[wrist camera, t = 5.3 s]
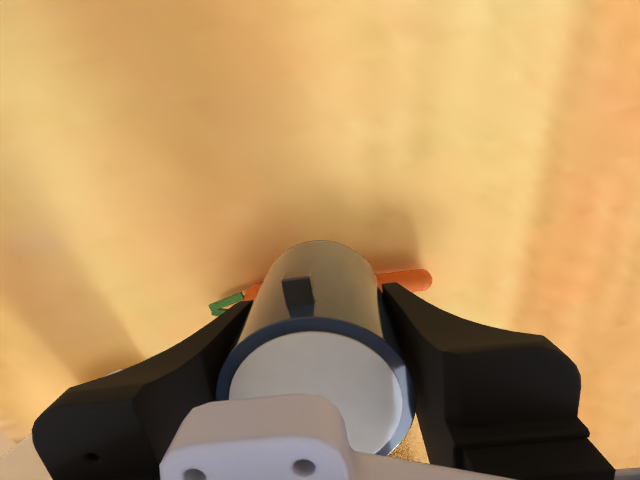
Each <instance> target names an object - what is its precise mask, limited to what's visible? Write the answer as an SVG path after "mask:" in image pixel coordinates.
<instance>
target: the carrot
mask: <svg viewBox="0 0 640 480" xmlns="http://www.w3.org/2000/svg"><path fill="white" fill-rule="evenodd" d="M376 277H377V280H378V282H379V285H380V288H381V291H382V284H384V283H392V282H397V283H398V284H400V285H401V286H403V287H404V288H406V289H407V290H409V291H410V292H416V291H424V290H427V289H428V288H429V287H430V286H431V284H432V277H431V275H430V273H429V272H427V271H426V270H423V269H418V270H410V271H402V272H394V273H386V274H379V275H376ZM261 285H262V283H261V284H256V285H254V286H252V287H251V288H250V289H249V290H248V291H247V292H246V294H245V296H244V295H243V294H242V292H239V293H237V294H234V295H232V296H229V297H227V298H224V299H222V300H219V301H217V302H214V303H212V304H210V305H209V308H210V309H211V311H212V315H214V316H220V315H221V314H222V313H224V312H225V311H226V310H228V309H223V308H222V307H225V306H228V305H230V304H233V303H235V302H238V301H240V300H243V301H249V300H254V299H255V297H256V295H257V293H258V291H259V289H260V287H261ZM382 293H383V292H382Z"/></svg>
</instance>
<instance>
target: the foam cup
mask: <svg viewBox="0 0 640 480" xmlns="http://www.w3.org/2000/svg"><path fill="white" fill-rule="evenodd" d="M121 370H124V369H118V370H116V371H113V372H111V373H109V374H107V375H105V376H108V375H111V374H113V373H116V372H119V371H121ZM105 376H104V377H105ZM0 480H53V479H52V478H51V476H50V474H49V473H48V471H47V469H46V467H45V466H44V464H43V462H42V460H41V459H40V457H39V455H38V453H37V452H36V449H35V447H34V444H33V441H32V433H31V434H30V435H28V436H27V437H26V438H24V439H23V440H22V441H21V442H19V443H18V444H17V445H16V446H14V447H13V448H12V449H10V450H9V451H8V452H7V453H5V454H4V455H3V456H2V457H0Z"/></svg>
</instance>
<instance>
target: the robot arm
mask: <svg viewBox="0 0 640 480" xmlns="http://www.w3.org/2000/svg"><path fill="white" fill-rule="evenodd" d="M382 292H383V296H384V299H385V302H386V304H387V307H388V310H389V313H390V315H391V318H392V321H393V324H394V326H395V329H396V332H397V335H398V337H399V340H400V343H401V346H402V348H403V351H404V354H405V357H406V359H407V362H408V365H409V368H410V370H411V373H412V376H413V379H414V382H415V387H416V393H417V405H416V415H417V418H418V422H419V425H420V429H421V433H422V436H423V440H424V444H425V447H426V451H427V455H428V458H429V462H430V464H427V463H421V462H415V461H410V460H404V459H398V458H393V457H387V456H382V455H376V454H370V453H365V452H359V451H355V450H353V449H352V448H351V446H350V444H349V441H348V438H347V432H346V426H345V421H344V419H343V417H342V415H341V413H340V411H339V410H338V408H337V406H336V405H334V404H333V403H331V402H329V401H328V400H326V399H324V398H323V397H321V396H319V395H311V394H302V393H295V394H285V395H275V396H265V397H255V398H245V399H235V400H226V401H216V383H217V379H218V375H219V372H220V370H221V367H222V365H223V363H224V361H225V359H226V357H227V355H228V353H229V351H230V348H231V346H232V344H233V342H234V340H235V338H236V336H237V334H238V332H239V330H240V328H241V326H242V324H243V322H244V320H245V318H246V316H247V314H248V312H249V309H250V307H251V305H252V303H253V301H254V300H249V301H241V302H238V303H237V304H235V305H234V306H232V307H231V308H229V309H228V310H226V311H225V312H224V313H222V314H221V315H220V316H218V317H217V318H216V319H214V320H213V321H212V322H210V323H209V324H207V325H206V326H204V327H203V328H202V329H200V330H199V331H197V332H196V333H194V334H193V335H191V336H190V337H188V338H187V339H185V340H183V341H182V342H180V343H178V344H176V345H175V346H173V347H171V348H169V349H167V350H166V351H164V352H162V353H159V354H157V355H155V356H153V357H151V358H149V359H147V360H145V361H143V362H141V363H138V364H136V365H134V366H131V367H129V368H126V369H124V370H121V371H119V372H116V373H113V374H111V375H108V376H105V377H102V378H99V379H96V380H93V381H90V382H87V383H83V384H80V385H77V386H74V387H70V388H69V389H68V390H66V391H65V392H64V393H63V394H62V395H61V396H60V397H59V398H58V399H57V400H56V401H55V402H54V403H52V404H51V405H50V406H49V407H48V408H47V409H46V410H45V411H44V412H43V413H42V414H41V415H40V416H39V417H38V418H37V419H36V421H35V422H34V425H33V428H32V441H33V444H34V447H35V449H36V452H37V453H38V455H39V457H40V459H41V460H42V462H43V464H44V466H45V467H46V469H47V471H48V473H49V474H50V476H51V478H52V479H53V480H640V468H627V469H614V468H613V467H612V465H611V464H610V463H609V462H608V461H607V460H606V459H605V458H604V456H603V455H602V454H601V453H600V452H599V451H598V450H597V448H596V447H595V446H594V445H593V444H592V443H591V442H590V441H589V439H588V438H587V437H589V435H590V432H589V430H588V428H587V427H586V426H585V425H584V424H583V423H582V422H581V421H580V419H579V418H578V417H577V415H578V407H579V399H580V391H581V375H580V373H579V371H578V369H577V366H576V365H575V364H574V363H573V361H572V360H571V359H570V358H569V357H568V356H567V355H565V354H564V353H563V352H562V351H561V350H560V349H559V348H558V347H556V346H555V345H554V344H553V343H552V342H551V341H549V340H548V339H547V338H546V337H544V336H542V335H535V334H527V333H520V332H513V331H508V330H503V329H499V328H494V327H490V326H486V325H482V324H479V323H475V322H472V321H469V320H466V319H463V318H460V317H458V316H455V315H453V314H450V313H448V312H446V311H443V310H441V309H439V308H437V307H435V306H433V305H432V304H430V303H428V302H426V301H424V300H423V299H421V298H419V297H418V296H416V295H415V294H413V293H412V292H410V291H409V290H407V289H406V288H404V287H403V286H401V285H400V284H398V283H397V282H392V283H384V284H382Z"/></svg>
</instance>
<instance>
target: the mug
mask: <svg viewBox="0 0 640 480" xmlns="http://www.w3.org/2000/svg"><path fill="white" fill-rule="evenodd" d="M295 393H302V394H311V395H319V396H321V397H323V398H324V399H326V400H328V401H329V402H331V403H333V404H334V405H336V406H337V408H338V410H339V411H340V413H341V415H342V417H343V419H344V421H345V426H346V432H347V438H348V441H349V444H350V446H351V448H352V449H353V450H355V451H359V452H365V453H370V454H376V455H382V456H387V455H389V454H390V453H391V452H392V451H393V450H394V449H395V448H396V447H397V446H398V445H399V444H400V443H401V442H402V440H403V439H404V438H405V436H406V435H407V433H408V431H409V429H410V427H411V425H412V422H413V419H414V416H415V411H416V405H417V393H416V387H415V382H414V379H413V376H412V373H411V370H410V368H409V365H408V362H407V359H406V357H405V354H404V351H403V348H402V346H401V343H400V340H399V337H398V335H397V332H396V329H395V326H394V324H393V321H392V318H391V315H390V313H389V310H388V307H387V304H386V302H385V299H384V296H383V293H382V291H381V288H380V285H379V282H378V280H377V277H376V274H375V272H374V270H373V268H372V267H371V265H370V264H369V263H368V261H367V260H366V259H365V258H364V257H363V256H362V255H360V254H359V253H358V252H357V251H355V250H353V249H352V248H350V247H348V246H346V245H344V244H340V243H337V242H333V241H325V240H317V241H309V242H304V243H301V244H298V245H296V246H293V247H291V248H289V249H288V250H286V251H285V252H283V253H282V254H281V255H280V256H279V257H278V258H277V259H276V260H275V261H274V263H273V264H272V265H271V267H270V269H269V270H268V272H267V275H266V277H265V279H264V281H263V283H262V285H261V287H260V289H259V291H258V293H257V295H256V297H255V299H254V301H253V303H252V305H251V307H250V309H249V312H248V314H247V316H246V318H245V320H244V322H243V324H242V326H241V328H240V330H239V332H238V334H237V336H236V338H235V340H234V342H233V344H232V346H231V348H230V351H229V353H228V355H227V357H226V359H225V361H224V363H223V365H222V367H221V370H220V372H219V375H218V379H217V383H216V401H226V400H235V399H245V398H255V397H265V396H275V395H285V394H295Z"/></svg>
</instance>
